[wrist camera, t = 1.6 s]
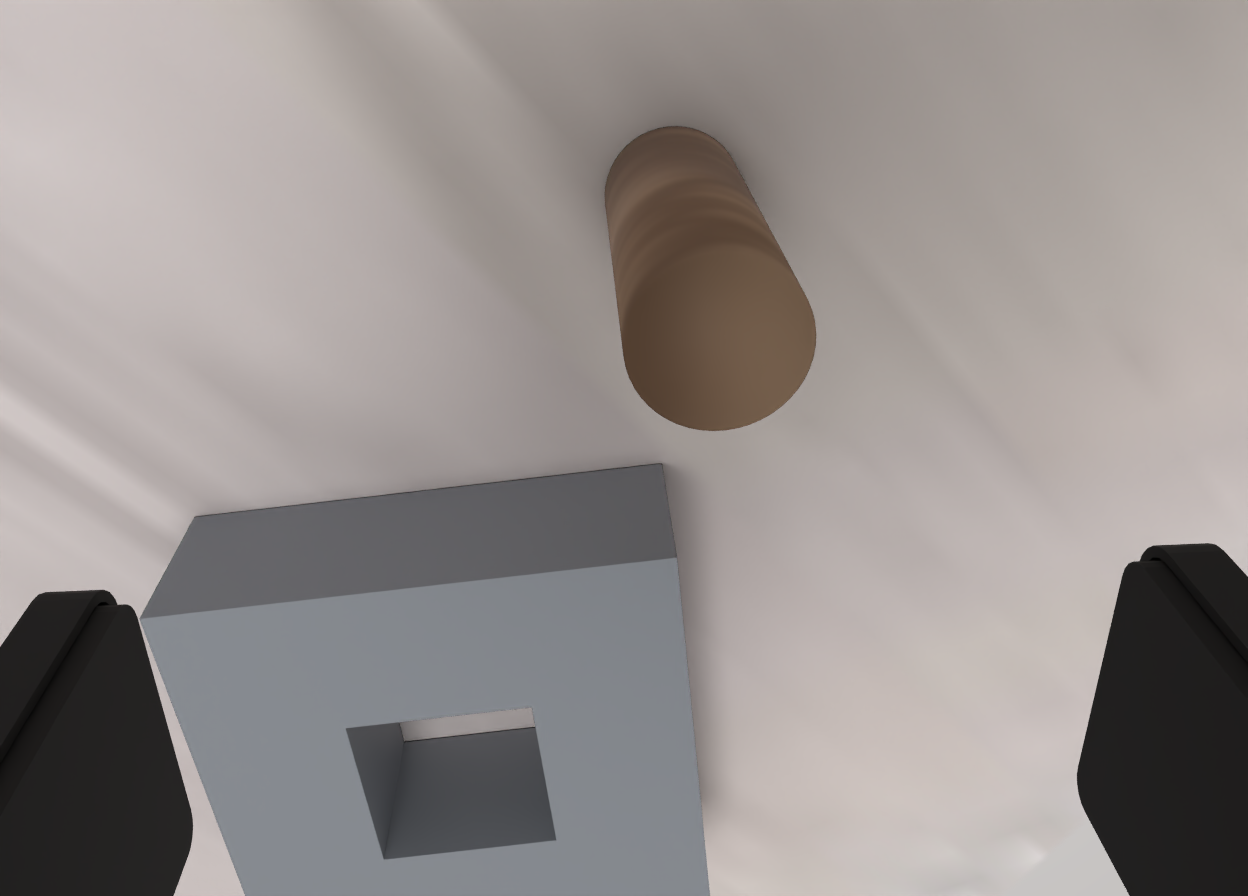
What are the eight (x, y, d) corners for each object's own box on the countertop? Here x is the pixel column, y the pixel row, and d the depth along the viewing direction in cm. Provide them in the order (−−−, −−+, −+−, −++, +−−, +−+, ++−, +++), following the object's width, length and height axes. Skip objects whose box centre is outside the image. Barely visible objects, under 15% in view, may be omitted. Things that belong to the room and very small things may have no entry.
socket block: (661, 463, 34) (677, 557, 29) (696, 804, 40) (712, 923, 36) (194, 517, 34) (139, 618, 29) (305, 848, 40) (274, 972, 36)
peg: (736, 118, 29) (813, 240, 20) (744, 253, 31) (818, 419, 22) (597, 134, 29) (613, 264, 20) (612, 268, 31) (633, 440, 22)
